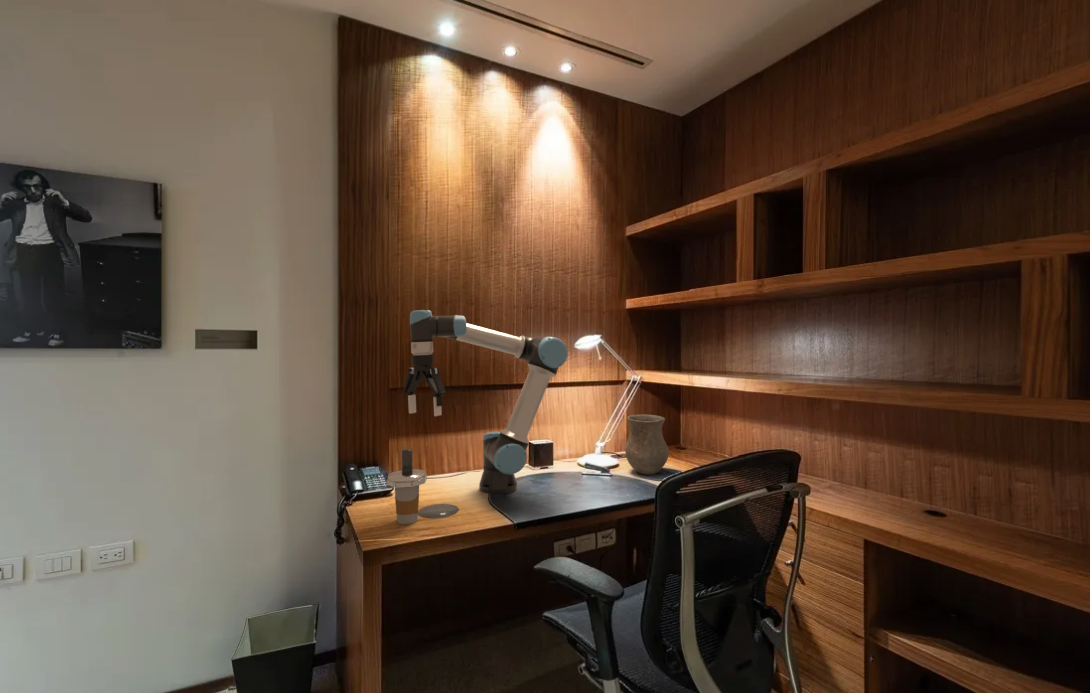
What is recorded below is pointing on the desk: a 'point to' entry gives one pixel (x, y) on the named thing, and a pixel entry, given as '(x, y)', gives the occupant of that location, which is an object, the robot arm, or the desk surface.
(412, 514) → the coffee cup
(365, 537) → the desk surface
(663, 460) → the vase
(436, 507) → the disc
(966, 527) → the desk surface
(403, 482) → the lid
